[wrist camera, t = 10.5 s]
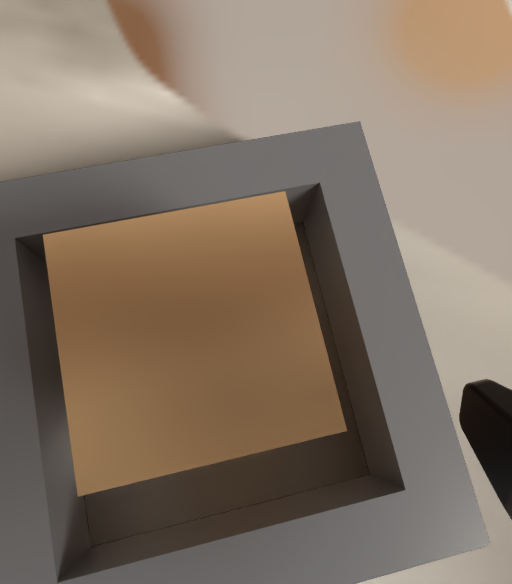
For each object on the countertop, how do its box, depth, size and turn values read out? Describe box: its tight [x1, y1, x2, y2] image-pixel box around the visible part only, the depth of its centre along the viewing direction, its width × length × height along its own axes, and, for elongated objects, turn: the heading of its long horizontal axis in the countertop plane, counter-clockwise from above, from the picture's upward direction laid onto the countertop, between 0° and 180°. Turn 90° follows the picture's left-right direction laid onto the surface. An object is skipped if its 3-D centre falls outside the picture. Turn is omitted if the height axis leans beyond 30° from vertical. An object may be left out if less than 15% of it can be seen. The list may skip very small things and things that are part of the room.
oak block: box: [43, 191, 347, 497], centre depth 14 cm, size 5×5×9 cm
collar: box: [0, 122, 491, 584], centre depth 16 cm, size 14×14×4 cm
